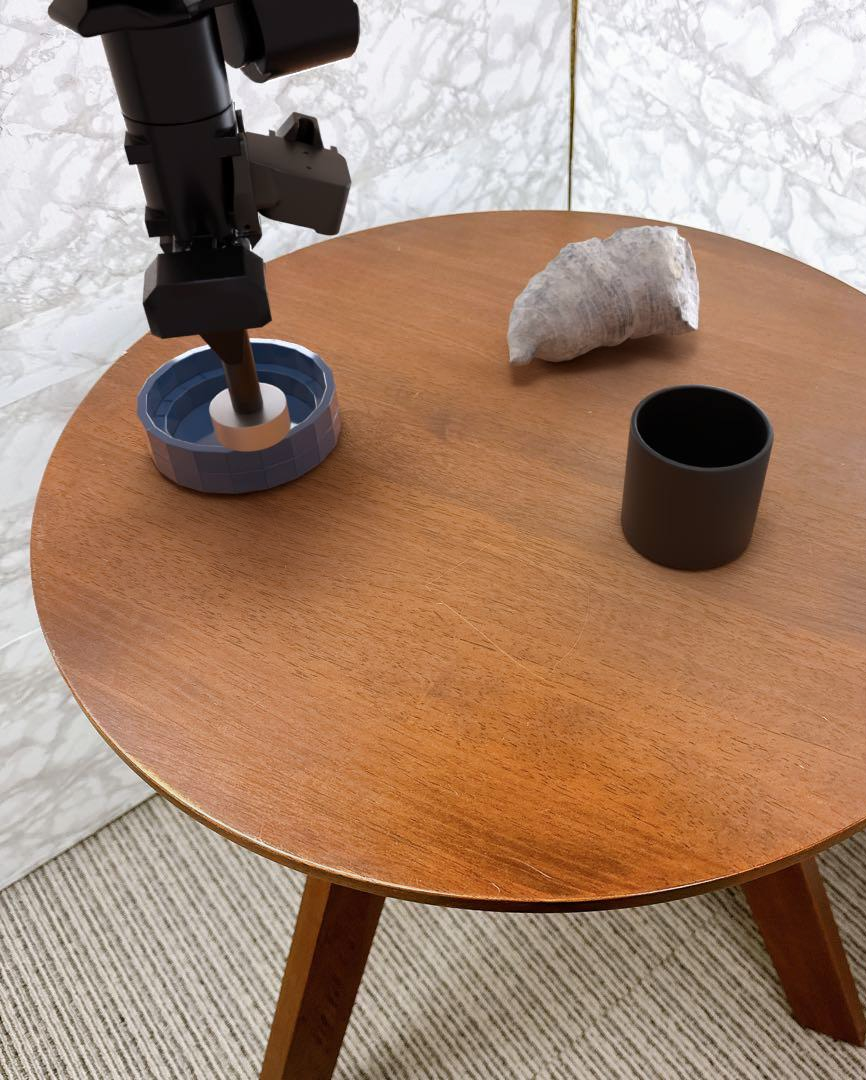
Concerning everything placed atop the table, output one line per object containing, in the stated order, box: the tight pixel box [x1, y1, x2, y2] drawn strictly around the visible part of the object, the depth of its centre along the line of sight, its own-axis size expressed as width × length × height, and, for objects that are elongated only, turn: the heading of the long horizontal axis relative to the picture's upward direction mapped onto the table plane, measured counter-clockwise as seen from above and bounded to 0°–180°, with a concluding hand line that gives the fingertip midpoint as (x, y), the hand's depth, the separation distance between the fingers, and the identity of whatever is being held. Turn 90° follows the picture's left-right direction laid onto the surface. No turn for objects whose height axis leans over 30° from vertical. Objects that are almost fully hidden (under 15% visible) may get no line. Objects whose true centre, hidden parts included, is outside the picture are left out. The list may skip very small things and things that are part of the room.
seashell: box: [506, 224, 701, 367], centre depth 86 cm, size 16×15×10 cm
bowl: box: [136, 337, 342, 495], centre depth 78 cm, size 14×14×4 cm
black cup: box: [620, 383, 775, 571], centre depth 71 cm, size 9×12×9 cm
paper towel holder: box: [209, 329, 291, 452], centre depth 65 cm, size 5×5×11 cm
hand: (234, 353), depth 65 cm, fingers closed on paper towel holder
